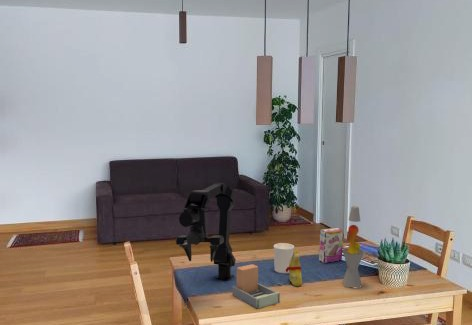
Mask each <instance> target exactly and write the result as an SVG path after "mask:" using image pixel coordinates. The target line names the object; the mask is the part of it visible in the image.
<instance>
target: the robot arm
mask: <svg viewBox="0 0 472 325" xmlns="http://www.w3.org/2000/svg"><path fill="white" fill-rule="evenodd" d="M213 198H214V199H215V201H216V203H215V204H216V206H217V209H218V210H219V219H218V235H217V234H216V235H215V234H214V235H212V236H210V237H208V236H209V234H208V233H207V227H208V224H207V218H206V217H207V216H206V211H207V210H208V207H207V205H208V204H210V203H211V199H213ZM236 199H237V196H236V194H235V192H234V190H233V189H231V188H230V187H228V186H227V184H226V183H223V182H214V183H213V184H212V185H209V186H207V187H206V188H204V189H197V190H196V189H195V190H192V191H190V193H189V195H188V197H187V200H186V202H185V205H184V207H183V208H184V209H183V212H181V214H180V215H179V217H178V221H179V224H180V225H181V226H182V227H184V228H189V229H190V230H189V232H188V233H187V234H181V235H179V236H177V237H176V238H175V245H178V247H181V248H182V249H183V250H184V252H185V254H186V256H187V259H188V261H189V262H192V256H193V255H192V245H194V246H197V245H200V243H209V244H210V245H209V248H210V254H209V255H210V258H209V260H210V262H211V263H212V262H213V265H218V270H217V271H218V272H217V273H218V274H217V275H216V276H215V277H214V278H215V279H217V280H224V281H230V280H231V279H232V278H233V277H234V276H235V275H234V274H232V270H231V269H232V267H235V265H236V257H235V256H234V255H233V248H232V247H231V245H230V229H231V213H232V212H231V211H232V209H233V208H234V206H235V203H236Z"/></svg>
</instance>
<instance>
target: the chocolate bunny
mask: <svg viewBox="0 0 472 325" xmlns="http://www.w3.org/2000/svg"><path fill="white" fill-rule="evenodd" d="M288 270H289V273H288V274H289V277H288V279H289V282H291V284H292V285H293V286H294V287H300V286H302V285H303V278H302V266H301V262H300V252H299V250H298V249H294V252H293V256H292V257H291V259H290V262H289V267H287V269H286V272H288Z"/></svg>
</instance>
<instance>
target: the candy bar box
mask: <svg viewBox="0 0 472 325" xmlns="http://www.w3.org/2000/svg"><path fill="white" fill-rule="evenodd" d="M343 242H344V229H341V228H339V227H335V228H324V229H320V230H319V249H318V251H319V252H318V261H319V262H320V261H321V263H322V264H329V263H328V262H331V263H335V262H334V261H338V262H340V261H339V260H341V259H342V260H343V248H344V247H343V244H344V243H343Z"/></svg>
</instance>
